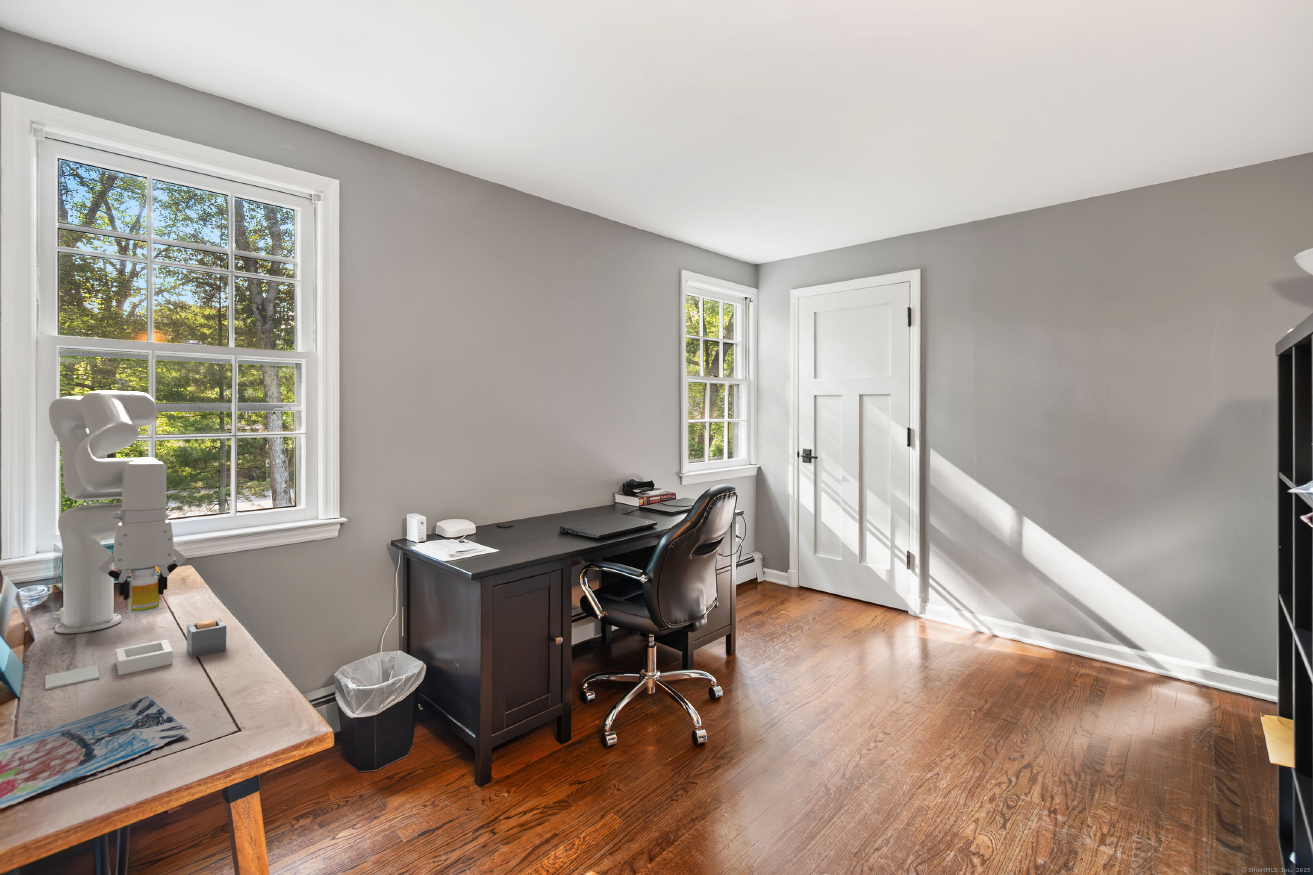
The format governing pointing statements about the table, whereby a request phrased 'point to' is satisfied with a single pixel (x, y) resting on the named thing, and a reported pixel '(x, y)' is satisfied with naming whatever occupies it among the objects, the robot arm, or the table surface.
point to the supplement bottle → (143, 591)
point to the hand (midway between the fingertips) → (143, 594)
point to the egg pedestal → (206, 639)
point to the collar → (143, 656)
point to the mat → (71, 677)
